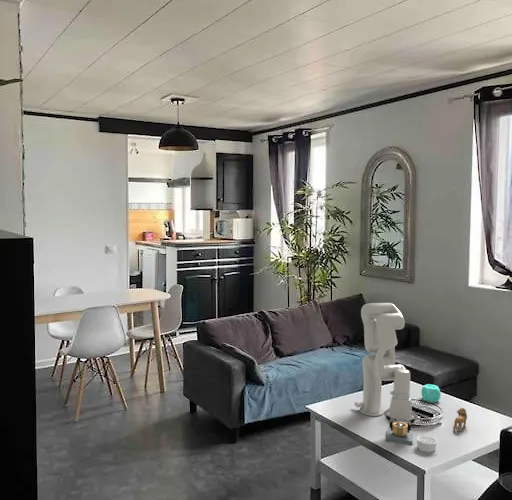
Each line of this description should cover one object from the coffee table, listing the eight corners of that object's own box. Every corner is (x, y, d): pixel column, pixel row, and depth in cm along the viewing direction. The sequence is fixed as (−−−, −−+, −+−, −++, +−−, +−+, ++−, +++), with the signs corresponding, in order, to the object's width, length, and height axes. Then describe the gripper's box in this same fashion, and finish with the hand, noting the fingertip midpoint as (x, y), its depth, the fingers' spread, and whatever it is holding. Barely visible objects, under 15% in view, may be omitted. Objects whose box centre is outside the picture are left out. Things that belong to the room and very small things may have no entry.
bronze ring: (392, 434, 255) (392, 426, 255) (392, 428, 262) (393, 421, 262) (407, 436, 253) (407, 428, 253) (407, 430, 260) (407, 422, 260)
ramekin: (426, 443, 252) (426, 434, 252) (440, 450, 245) (441, 441, 244) (412, 446, 248) (412, 437, 248) (426, 454, 240) (427, 445, 240)
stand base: (386, 440, 254) (386, 437, 254) (387, 430, 265) (387, 427, 265) (412, 444, 250) (412, 441, 250) (412, 434, 262) (413, 431, 262)
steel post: (395, 435, 256) (395, 425, 256) (395, 432, 260) (396, 422, 260) (404, 436, 255) (404, 426, 255) (404, 433, 259) (404, 423, 259)
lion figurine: (456, 422, 277) (457, 405, 276) (467, 424, 274) (468, 407, 274) (452, 432, 264) (452, 415, 263) (463, 435, 261) (464, 417, 261)
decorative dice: (433, 397, 313) (434, 384, 312) (440, 402, 305) (441, 388, 304) (421, 397, 312) (421, 384, 311) (427, 402, 304) (427, 389, 303)
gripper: (382, 395, 255) (381, 431, 257) (420, 400, 250) (418, 436, 251) (383, 390, 262) (382, 425, 264) (420, 394, 257) (418, 430, 259)
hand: (400, 430), depth 258 cm, fingers open, 7 cm apart
